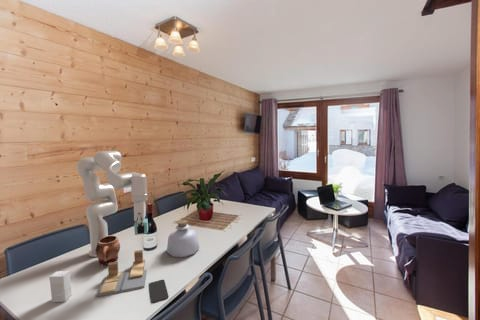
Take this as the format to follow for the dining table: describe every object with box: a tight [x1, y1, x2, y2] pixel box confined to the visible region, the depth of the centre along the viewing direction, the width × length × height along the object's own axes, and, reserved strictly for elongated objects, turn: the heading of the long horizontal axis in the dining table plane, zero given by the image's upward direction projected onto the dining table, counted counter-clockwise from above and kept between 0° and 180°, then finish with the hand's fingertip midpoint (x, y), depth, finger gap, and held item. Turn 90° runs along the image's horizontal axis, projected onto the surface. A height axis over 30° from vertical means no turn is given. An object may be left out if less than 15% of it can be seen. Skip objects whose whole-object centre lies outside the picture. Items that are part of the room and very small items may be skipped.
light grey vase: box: [166, 219, 200, 258], centre depth 145 cm, size 20×20×19 cm
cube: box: [133, 218, 149, 236], centre depth 121 cm, size 6×6×6 cm
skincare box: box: [48, 270, 73, 303], centre depth 102 cm, size 6×4×12 cm
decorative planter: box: [96, 234, 121, 266], centre depth 131 cm, size 20×12×14 cm, turn 25°
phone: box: [148, 279, 169, 304], centre depth 107 cm, size 7×1×15 cm
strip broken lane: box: [104, 260, 122, 284], centre depth 114 cm, size 7×6×7 cm
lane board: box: [96, 269, 148, 297], centre depth 113 cm, size 14×20×2 cm
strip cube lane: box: [129, 249, 146, 279], centre depth 122 cm, size 15×6×7 cm, turn 18°
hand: (141, 230), depth 122 cm, fingers closed on cube, 6 cm apart
